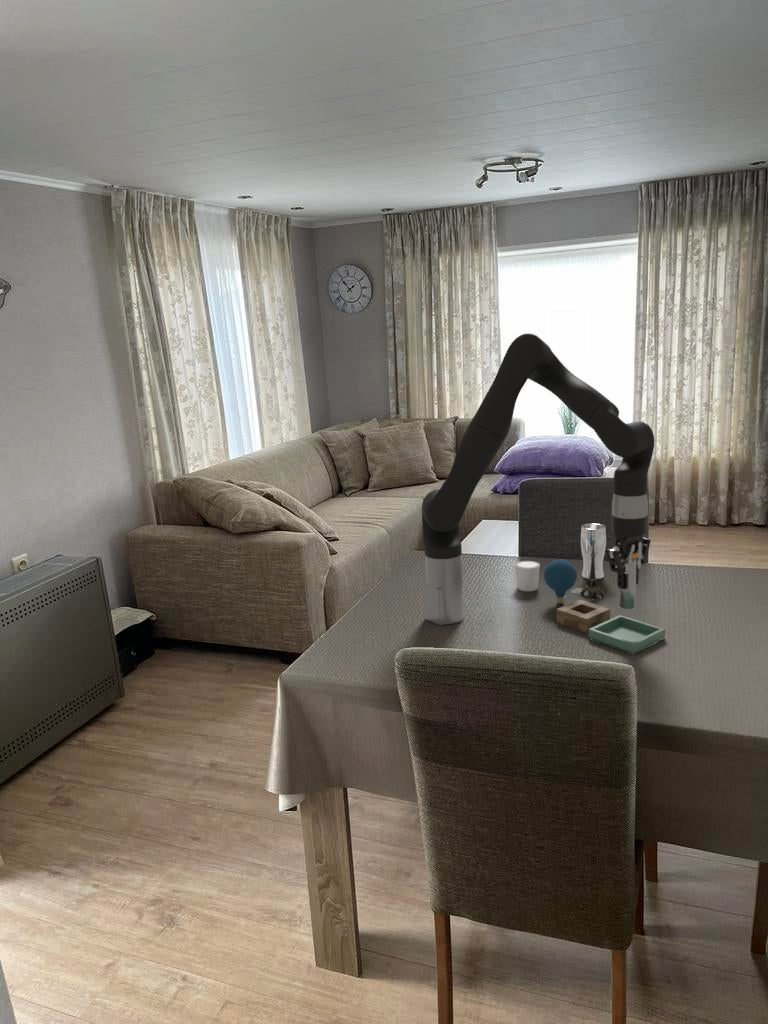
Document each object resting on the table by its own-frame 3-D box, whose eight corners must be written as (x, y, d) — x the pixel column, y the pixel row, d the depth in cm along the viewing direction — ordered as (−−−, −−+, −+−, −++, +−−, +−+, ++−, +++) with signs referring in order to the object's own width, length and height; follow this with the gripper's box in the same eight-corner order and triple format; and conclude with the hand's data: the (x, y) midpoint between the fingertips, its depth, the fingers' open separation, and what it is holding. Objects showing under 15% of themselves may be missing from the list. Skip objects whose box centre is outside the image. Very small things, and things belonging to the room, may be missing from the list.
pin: (630, 611, 163) (631, 556, 160) (613, 606, 166) (614, 552, 163) (641, 605, 165) (643, 551, 162) (624, 601, 169) (625, 547, 166)
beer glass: (579, 579, 208) (580, 529, 204) (580, 571, 214) (581, 522, 210) (605, 580, 206) (606, 529, 202) (605, 572, 212) (606, 523, 208)
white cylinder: (542, 591, 200) (542, 567, 199) (517, 592, 200) (517, 568, 199) (537, 583, 207) (537, 559, 205) (513, 584, 207) (513, 560, 205)
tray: (633, 655, 159) (634, 644, 159) (588, 638, 169) (588, 629, 168) (664, 639, 166) (665, 629, 166) (619, 624, 176) (620, 614, 175)
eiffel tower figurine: (625, 594, 196) (627, 547, 193) (618, 607, 187) (619, 558, 184) (570, 588, 203) (570, 542, 200) (560, 600, 195) (560, 553, 191)
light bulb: (553, 611, 186) (553, 566, 183) (538, 600, 194) (538, 557, 191) (582, 606, 188) (583, 562, 185) (566, 595, 196) (566, 553, 193)
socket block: (586, 632, 172) (586, 619, 171) (556, 622, 179) (556, 609, 178) (609, 622, 177) (610, 608, 176) (579, 612, 184) (579, 599, 183)
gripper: (625, 522, 153) (623, 598, 158) (663, 509, 162) (660, 582, 166) (595, 516, 159) (595, 590, 163) (633, 504, 167) (631, 574, 172)
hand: (628, 585), depth 165 cm, fingers closed on pin, 3 cm apart
